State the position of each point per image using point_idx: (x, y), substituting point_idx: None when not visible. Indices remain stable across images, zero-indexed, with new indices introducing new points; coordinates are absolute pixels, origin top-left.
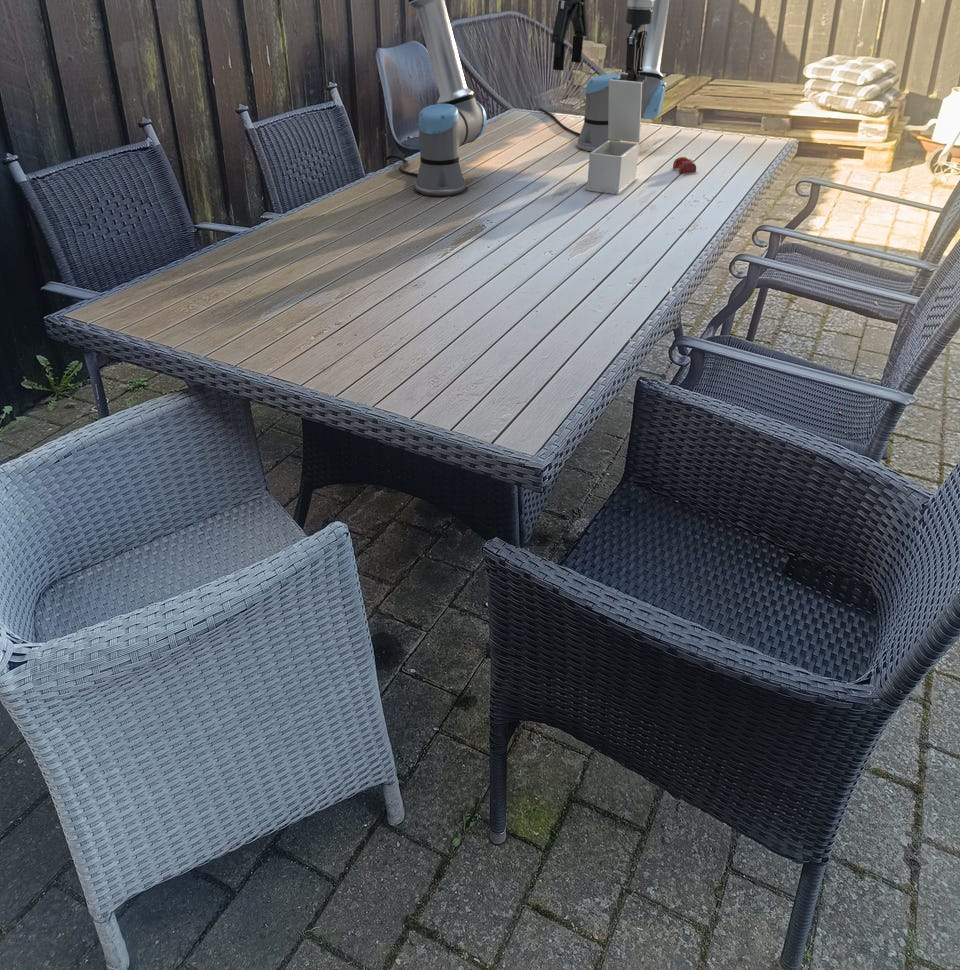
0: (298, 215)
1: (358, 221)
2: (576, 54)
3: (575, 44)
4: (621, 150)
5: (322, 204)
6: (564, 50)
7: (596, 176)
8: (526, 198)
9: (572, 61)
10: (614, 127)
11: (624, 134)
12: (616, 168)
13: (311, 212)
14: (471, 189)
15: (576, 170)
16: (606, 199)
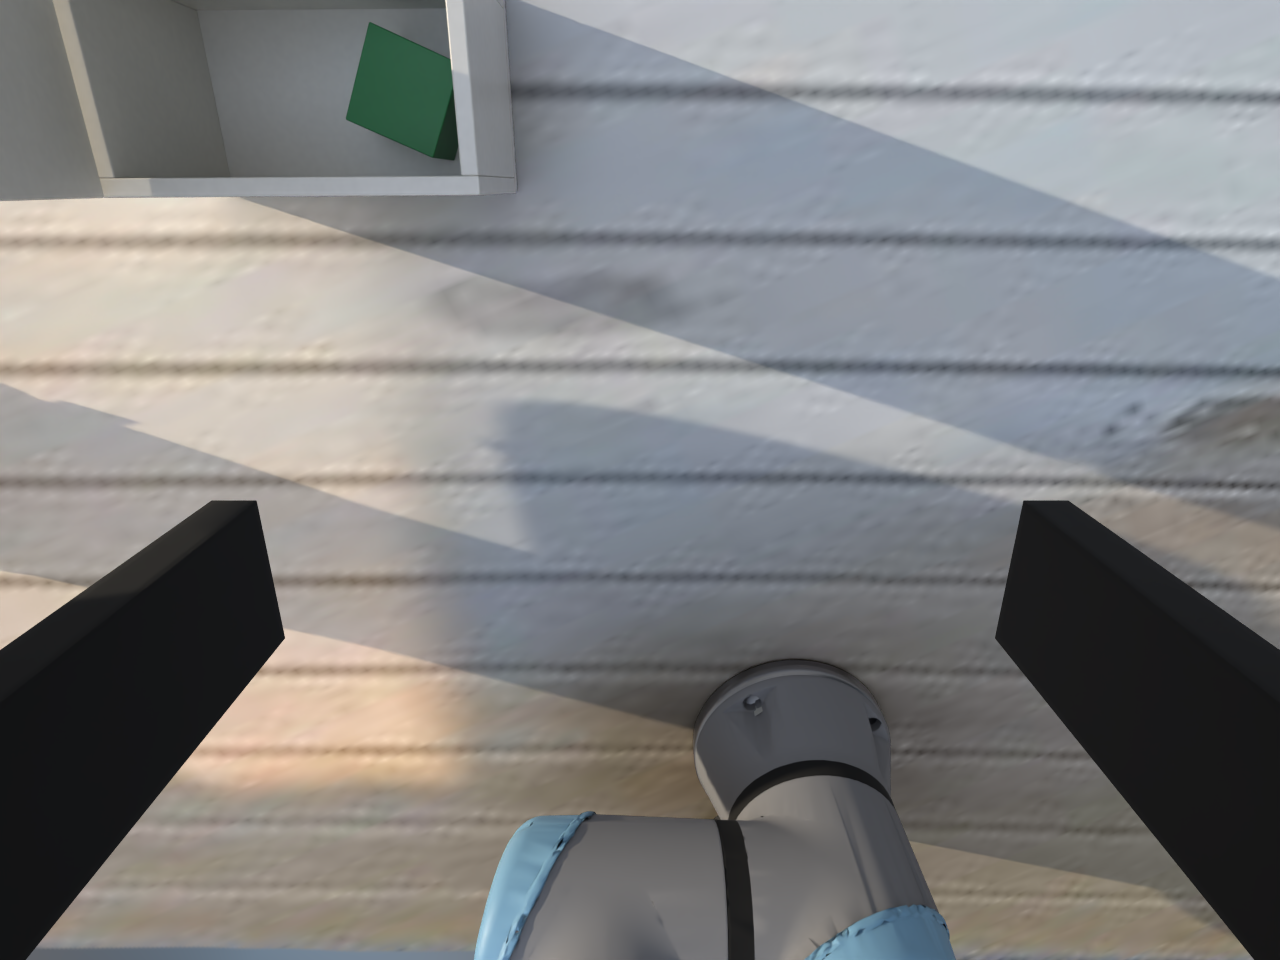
0: (1190, 944)
1: None
2: (205, 635)
3: (99, 789)
4: (126, 84)
5: (1069, 942)
6: (1270, 679)
7: (500, 138)
8: (764, 410)
9: (281, 625)
10: (46, 143)
11: (44, 55)
12: None
13: (1154, 931)
14: (737, 648)
15: (233, 370)
16: (615, 29)
